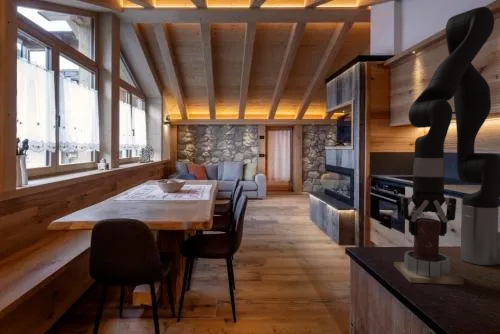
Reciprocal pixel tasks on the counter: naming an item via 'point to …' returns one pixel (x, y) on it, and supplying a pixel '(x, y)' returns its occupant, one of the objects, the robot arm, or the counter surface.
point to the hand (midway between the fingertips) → (427, 235)
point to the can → (427, 239)
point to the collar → (427, 265)
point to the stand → (423, 279)
